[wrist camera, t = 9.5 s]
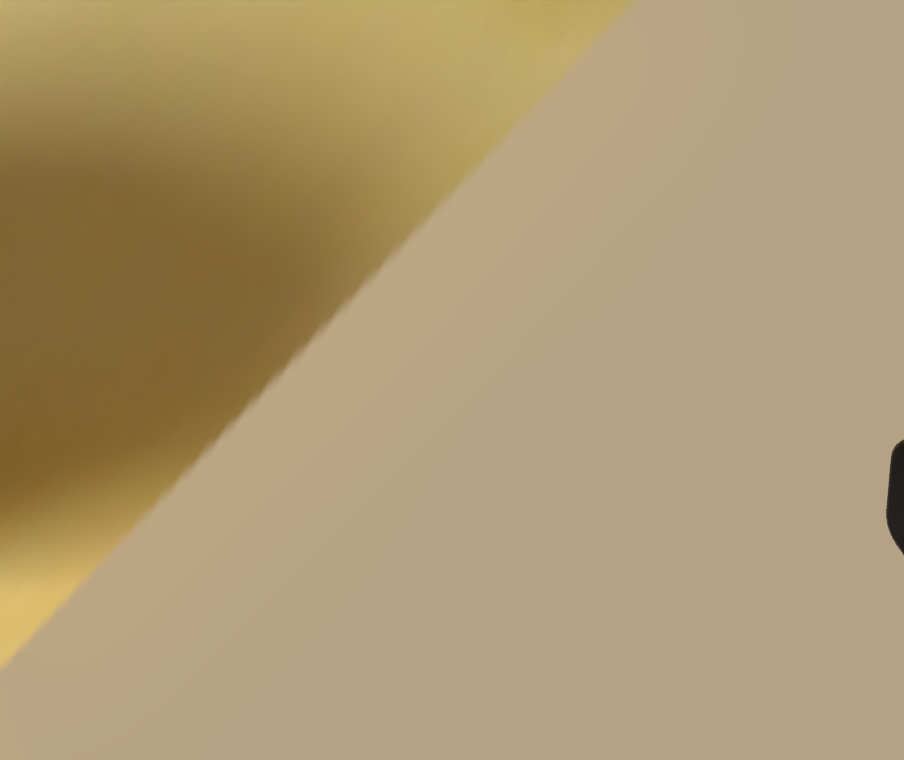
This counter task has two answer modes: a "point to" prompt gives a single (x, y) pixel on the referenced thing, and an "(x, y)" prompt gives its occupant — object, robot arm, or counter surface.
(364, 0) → the counter surface
